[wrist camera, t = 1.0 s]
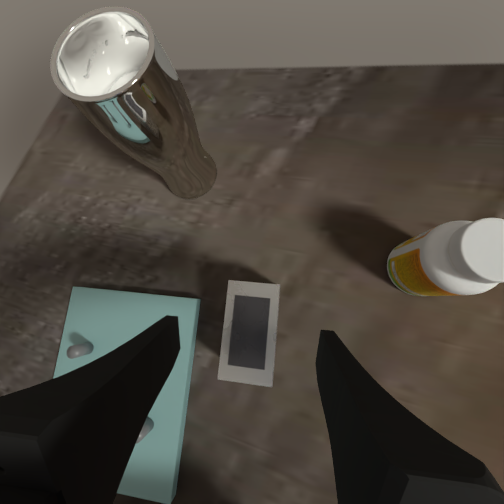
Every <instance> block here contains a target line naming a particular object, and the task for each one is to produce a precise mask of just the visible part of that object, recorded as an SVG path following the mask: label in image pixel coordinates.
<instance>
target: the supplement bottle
mask: <svg viewBox="0 0 504 504" xmlns="http://www.w3.org/2000/svg"><path fill="white" fill-rule="evenodd" d="M387 271H388V275H389V277H390V279H391V281H392V282H393V284H394V285H395V286H396V287H397V288H399V289H400V290H402V291H403V292H405V293H408V294H411V295H415V296H441V295H473V294H479V293H482V292H485V291H488V290H490V289H492V288H493V287H495V286H496V285H497V284H498V283H501V282H504V220H503V219H499V218H484V219H480V220H477V221H474V222H471V221H451V222H447V223H444V224H441V225H439V226H437V227H435V228H432V229H430V230H428V231H426V232H424V233H422V234H420V235H417V236H415V237H413V238H411V239H409V240H407V241H405V242H403V243H401V244H399V245H398V246H396V247H395V248H394V249H393V250H392V251H391V253H390V255H389V257H388V260H387Z"/></svg>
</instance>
